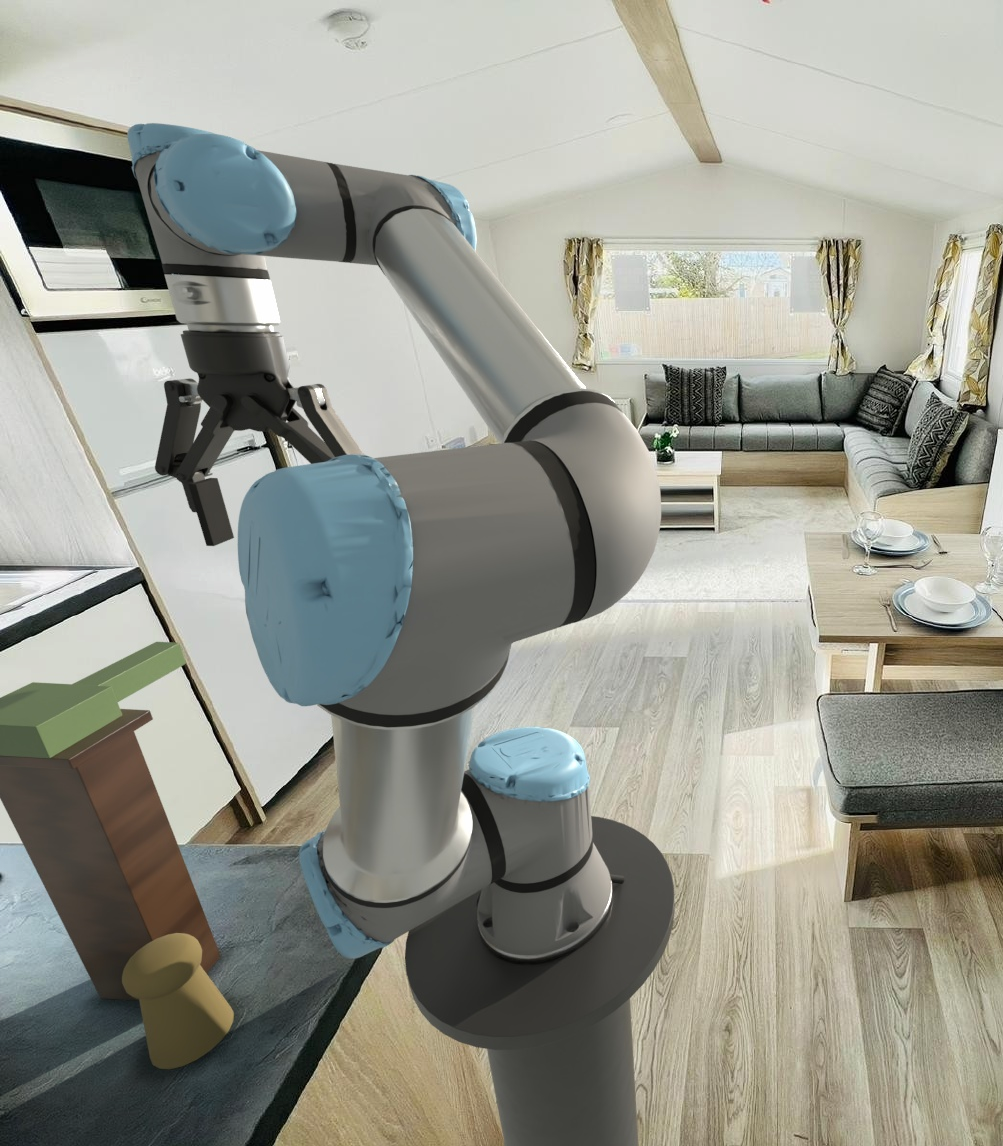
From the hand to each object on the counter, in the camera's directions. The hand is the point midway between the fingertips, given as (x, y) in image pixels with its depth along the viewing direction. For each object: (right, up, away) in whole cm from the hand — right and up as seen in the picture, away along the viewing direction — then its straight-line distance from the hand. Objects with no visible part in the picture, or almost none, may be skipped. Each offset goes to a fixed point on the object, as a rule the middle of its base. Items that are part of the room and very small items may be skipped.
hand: (286, 544), depth 67 cm
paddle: (-10, -15, -9) cm, 20 cm away
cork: (-3, -47, -7) cm, 47 cm away
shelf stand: (-11, -44, -2) cm, 46 cm away
